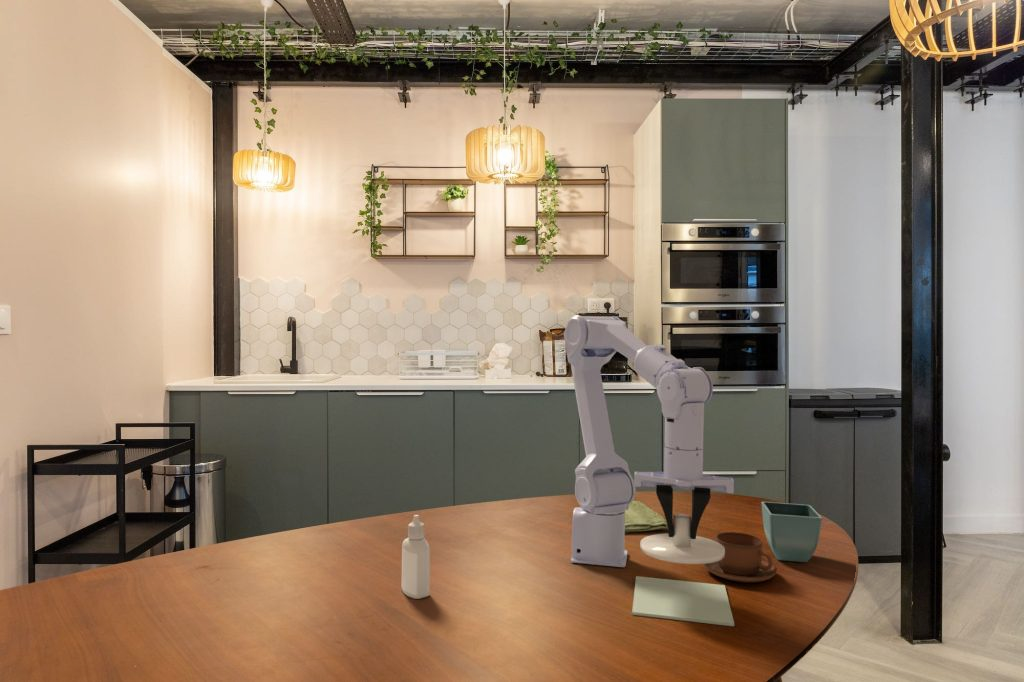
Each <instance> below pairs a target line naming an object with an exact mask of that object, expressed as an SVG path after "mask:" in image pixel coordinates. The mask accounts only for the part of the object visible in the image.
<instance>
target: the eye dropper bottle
mask: <svg viewBox="0 0 1024 682" xmlns="http://www.w3.org/2000/svg"><path fill="white" fill-rule="evenodd" d="M407 525H408V527H407V528H408V529H407V533H408V534H407V538H405V539H404V540H403V541H402V544H401V547H402V548H401V590H402V592H403V594H404V595H406V596H407V597H409V598H411V599H415V600H418V599H423V598H427V597H429V596H430V592H431V591H430V589H431V586H430V585H431V584H430V583H431V581H430V579H431V578H430V577H431V549H430V545H429V543H428V542H427V540H426V538H425V524H424V523H423V522H421V521H420V516H419V514H414V515H413V519H412V522H410V523H409V524H407Z"/></svg>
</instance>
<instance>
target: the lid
mask: <svg viewBox="0 0 1024 682" xmlns="http://www.w3.org/2000/svg"><path fill="white" fill-rule="evenodd" d="M691 517H692V515H689V514H683V513H675V514H673V531H674V532H673V537H669V533H657V534H651V535H648V536H645V537H643V538H642V539H641V540H640V542H639V545H640V547H639V548H640V551H642V552H643V554H645V555H647V556H649V557H651V558H654V559H656V560H660V561H664V562H669V563H675V564H682V565H683V564H684V565H685V564H686V565H703V564H707V563H713V562H717V561H719V560H721V559H723V558H724V556H725V548H724V547H723V546H722V545H721V544H720V543H718V542H716V540H714V539H710V538H706V537H703V536H700V535H696V539H691Z"/></svg>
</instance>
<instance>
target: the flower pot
mask: <svg viewBox="0 0 1024 682" xmlns="http://www.w3.org/2000/svg"><path fill="white" fill-rule="evenodd" d="M761 514H762V524H763V530H764V535H765V538H766V540H767V543H768V545H769V547H770V549H771V551H772V553H773V555H774V556H775V558H776V560H778V561H785V562H786V561H787V562H798V563H799V562H800V563H808V561H809V560H810V559H811V558H812V556H813V555H814V553H815V552H816V549H817V548H818V546H819V545H818V544H819V540H820V534H821V533H820V532H821V528H822V521H823V517H822V516H821V515H820V514H819V512H817V511H816V510H815V508H813V506H812V505H810V504H804V503H786V502H784V503H783V502H775V501H774V502H773V501H761Z"/></svg>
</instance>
